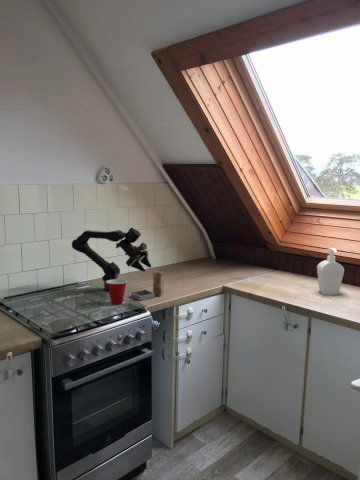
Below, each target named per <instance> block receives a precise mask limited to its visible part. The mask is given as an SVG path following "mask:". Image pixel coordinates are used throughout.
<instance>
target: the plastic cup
mask: <svg viewBox="0 0 360 480" xmlns="http://www.w3.org/2000/svg"><path fill="white" fill-rule="evenodd" d="M106 283H107V285H108V289H109V292H108V294H109V298H110V302H111V304H112V305H117V306H118V305H122V304H123V302H124V298H125V292H126V291H125V290H126V285H127V283H128V280H126V279H119V278H116V279H114V280H108V281H106Z"/></svg>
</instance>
